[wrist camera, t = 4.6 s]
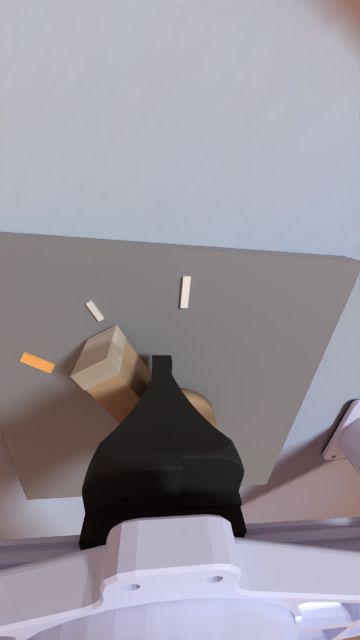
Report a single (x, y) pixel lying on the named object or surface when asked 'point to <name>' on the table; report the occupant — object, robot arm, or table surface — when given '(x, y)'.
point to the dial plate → (158, 341)
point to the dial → (121, 376)
